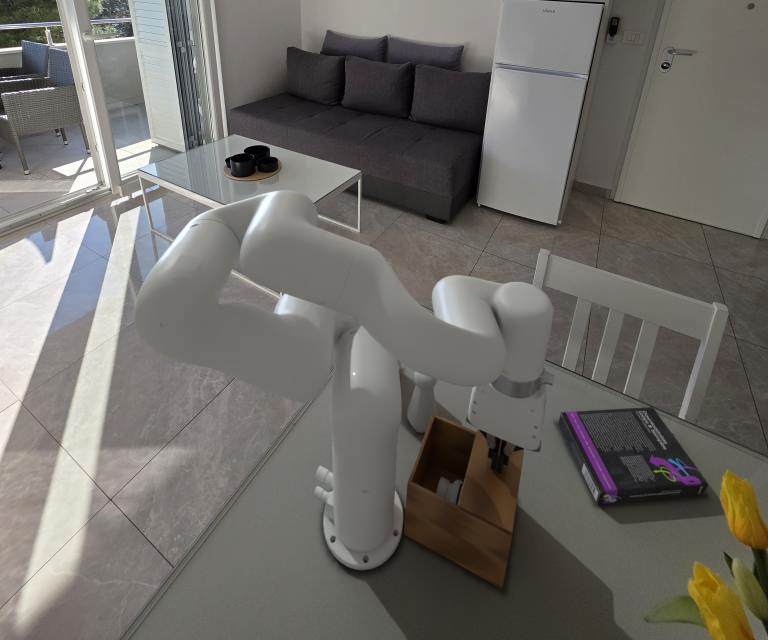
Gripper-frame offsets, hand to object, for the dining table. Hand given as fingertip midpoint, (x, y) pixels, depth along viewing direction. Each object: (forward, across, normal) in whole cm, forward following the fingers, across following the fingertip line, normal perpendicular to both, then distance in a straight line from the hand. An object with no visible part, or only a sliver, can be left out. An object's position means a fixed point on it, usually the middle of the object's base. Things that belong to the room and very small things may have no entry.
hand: (497, 462), depth 65 cm
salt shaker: (+13, +15, -10) cm, 22 cm away
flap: (+1, 0, +2) cm, 2 cm away
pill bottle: (+9, -2, +2) cm, 10 cm away
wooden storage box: (+13, +4, +2) cm, 13 cm away
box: (+13, -21, -20) cm, 32 cm away
